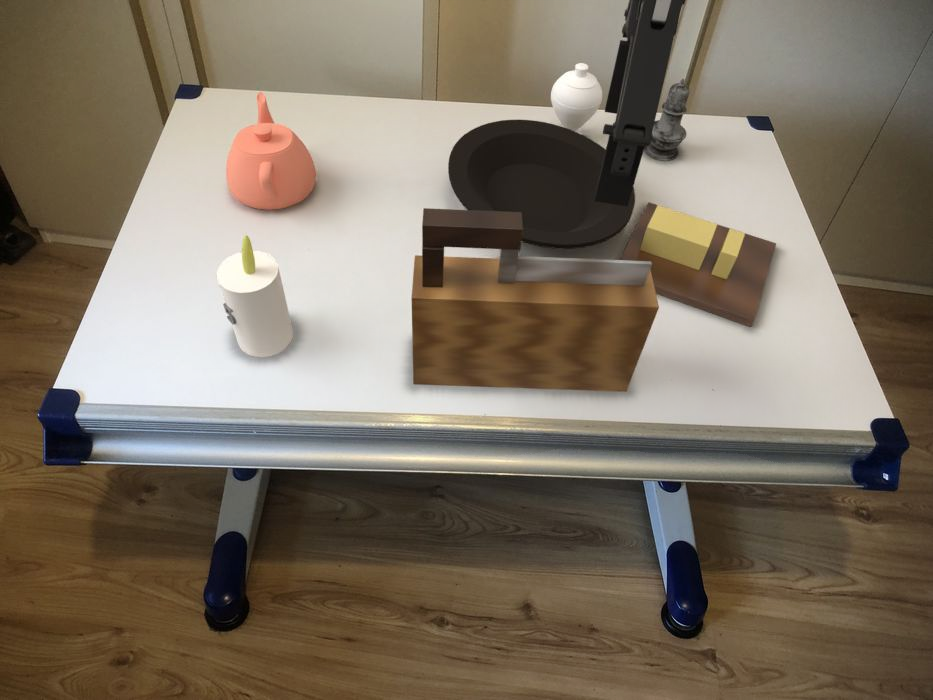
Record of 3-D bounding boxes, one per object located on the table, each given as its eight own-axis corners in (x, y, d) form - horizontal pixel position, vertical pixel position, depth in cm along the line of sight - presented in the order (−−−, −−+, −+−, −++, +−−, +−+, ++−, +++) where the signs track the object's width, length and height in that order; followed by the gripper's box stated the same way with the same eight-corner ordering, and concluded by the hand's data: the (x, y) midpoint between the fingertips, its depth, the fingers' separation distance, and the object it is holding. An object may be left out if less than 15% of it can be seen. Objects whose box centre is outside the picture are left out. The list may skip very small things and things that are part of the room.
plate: (415, 175, 100) (415, 142, 96) (551, 136, 109) (557, 104, 104) (514, 300, 85) (519, 268, 81) (664, 244, 93) (675, 212, 89)
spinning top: (588, 124, 111) (603, 52, 102) (596, 152, 106) (613, 79, 97) (541, 123, 111) (552, 51, 101) (548, 152, 106) (560, 79, 97)
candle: (225, 335, 80) (191, 237, 68) (272, 308, 83) (247, 209, 71) (256, 367, 77) (226, 270, 65) (304, 337, 80) (283, 240, 68)
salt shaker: (678, 165, 105) (702, 93, 96) (640, 157, 106) (660, 85, 97) (681, 144, 109) (705, 72, 100) (644, 136, 110) (664, 65, 101)
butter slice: (726, 279, 88) (737, 256, 85) (711, 274, 88) (721, 251, 85) (734, 256, 91) (745, 233, 88) (719, 251, 91) (729, 228, 88)
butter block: (698, 270, 89) (708, 247, 86) (639, 250, 91) (647, 226, 88) (707, 247, 92) (717, 224, 89) (650, 228, 94) (657, 204, 91)
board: (750, 327, 84) (754, 320, 84) (611, 277, 89) (613, 271, 88) (773, 249, 94) (776, 243, 93) (646, 208, 98) (648, 201, 97)
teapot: (229, 228, 91) (212, 168, 84) (231, 149, 102) (216, 90, 95) (321, 220, 93) (312, 161, 86) (313, 143, 104) (305, 85, 97)
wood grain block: (413, 384, 76) (411, 297, 66) (416, 343, 80) (414, 254, 69) (626, 392, 77) (659, 307, 66) (619, 350, 81) (649, 264, 70)
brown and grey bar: (422, 287, 67) (422, 227, 61) (423, 265, 69) (423, 205, 63) (646, 295, 67) (667, 237, 62) (641, 274, 69) (661, 215, 63)
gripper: (634, -188, 52) (584, 76, 68) (618, -68, 36) (558, 238, 53) (735, -178, 51) (660, 87, 68) (762, -50, 36) (656, 254, 52)
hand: (615, 153), depth 60 cm, fingers open, 13 cm apart
